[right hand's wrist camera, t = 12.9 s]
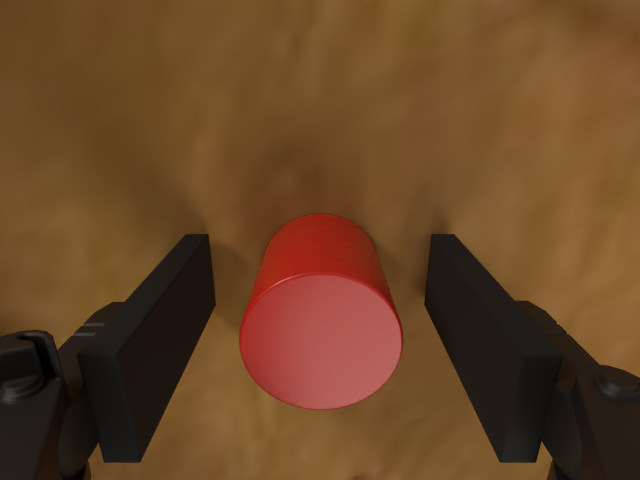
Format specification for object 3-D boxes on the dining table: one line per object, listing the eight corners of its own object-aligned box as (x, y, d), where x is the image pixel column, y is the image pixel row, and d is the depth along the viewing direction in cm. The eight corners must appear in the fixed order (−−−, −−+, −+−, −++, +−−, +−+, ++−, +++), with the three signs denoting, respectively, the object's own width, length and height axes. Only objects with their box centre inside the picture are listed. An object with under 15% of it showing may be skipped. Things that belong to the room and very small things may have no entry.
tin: (348, 192, 13) (362, 243, 9) (396, 291, 15) (427, 377, 10) (242, 244, 14) (206, 314, 10) (296, 333, 15) (286, 431, 11)
